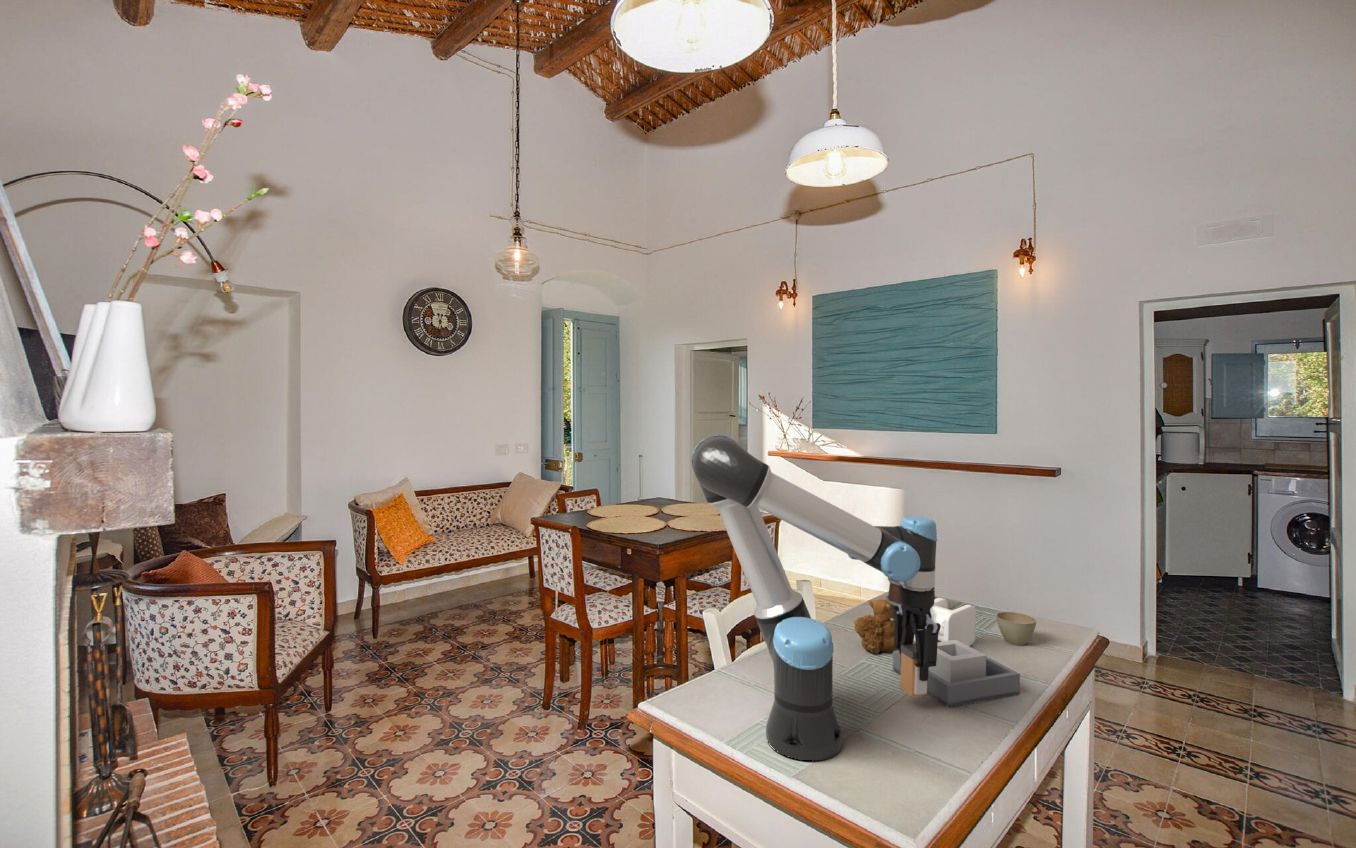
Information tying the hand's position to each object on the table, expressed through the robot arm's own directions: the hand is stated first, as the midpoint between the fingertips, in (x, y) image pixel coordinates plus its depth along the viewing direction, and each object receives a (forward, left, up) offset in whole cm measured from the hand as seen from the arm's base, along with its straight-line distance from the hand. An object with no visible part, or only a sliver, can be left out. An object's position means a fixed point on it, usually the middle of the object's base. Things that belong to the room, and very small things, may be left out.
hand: (913, 688), depth 138 cm
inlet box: (+17, +7, -4) cm, 18 cm away
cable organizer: (+30, +26, -4) cm, 40 cm away
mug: (+36, +48, -4) cm, 60 cm away
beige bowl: (+51, +22, -4) cm, 55 cm away
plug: (0, 0, -1) cm, 1 cm away
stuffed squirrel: (+11, +30, -4) cm, 32 cm away
